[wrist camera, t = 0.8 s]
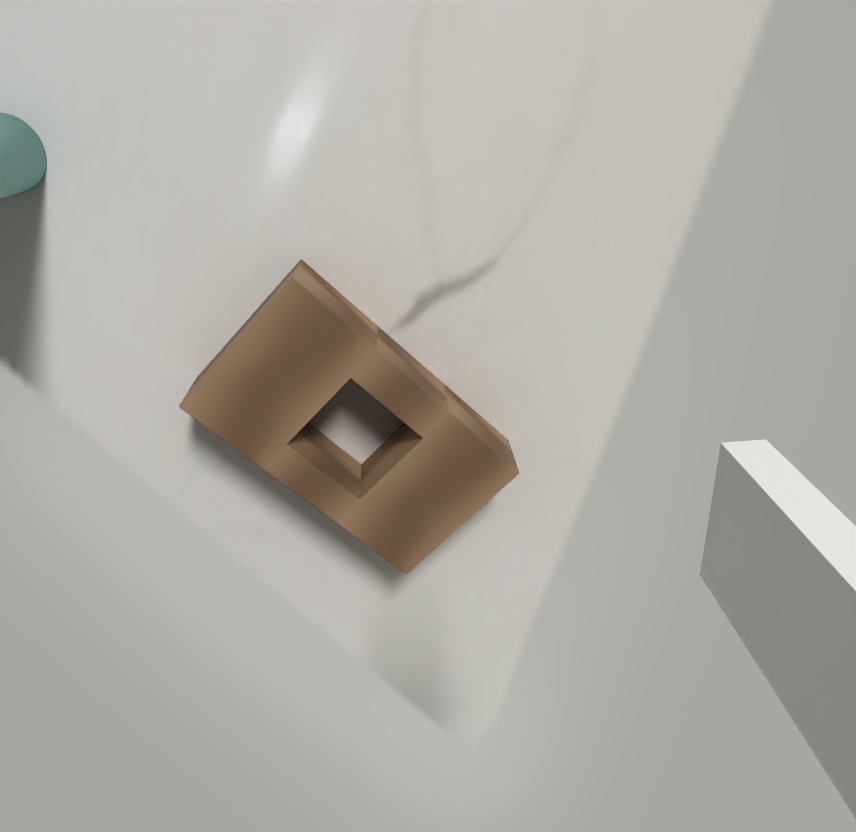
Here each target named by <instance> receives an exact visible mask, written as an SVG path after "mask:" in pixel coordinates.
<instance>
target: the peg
mask: <svg viewBox="0 0 856 832" xmlns="http://www.w3.org/2000/svg"><path fill="white" fill-rule="evenodd" d="M46 163H47V162H46V153H45V149H44V146H43V144H42V142H41V140H40V138H39V136H38V135H37V134H36V132H35V131H34V130H33V129H32V128H31V127H30V126H29V125H28V124H27V123H25V122H24V121H23V120H21V119H19V118H17V117H15V116H13V115H9V114H5V113H0V199H1V198H5V197H8V196H11V195H14V194H17V193H20V192H23V191H27V190H29V189H31V188H33V187H35V186H36V185H37V184H38V183H39V182H40V181H41V179H42V177H43V176H44V173H45V170H46Z"/></svg>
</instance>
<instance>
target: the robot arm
mask: <svg viewBox="0 0 856 832" xmlns="http://www.w3.org/2000/svg"><path fill="white" fill-rule="evenodd" d="M700 575H701V577H702V579H703V580H704V582H705V583H706V585H707V586H708V588H709V589H710V591H711V592H712V594H713V596H714V597H715V599H716V600H717V602H718V604H719V605H720V607H721V608H722V610H723V611H724V613H725V615H726V616H727V618H728V619H729V621H730V622H731V624H732V626H733V627H734V629H735V630H736V632H737V633H738V635H739V637H740V638H741V640H742V641H743V643H744V644H745V646H746V647H747V649H748V651H749V652H750V654H751V655H752V657H753V658H754V660H755V661H756V663H757V665H758V666H759V668H760V669H761V671H762V673H763V674H764V676H765V677H766V679H767V680H768V682H769V684H770V685H771V687H772V688H773V690H774V691H775V693H776V695H777V696H778V698H779V699H780V701H781V702H782V704H783V706H784V707H785V709H786V710H787V712H788V713H789V715H790V716H791V718H792V720H793V721H794V723H795V724H796V726H797V727H798V729H799V731H800V732H801V734H802V735H803V737H804V738H805V740H806V742H807V743H808V745H809V746H810V748H811V749H812V751H813V753H814V754H815V756H816V757H817V759H818V760H819V762H820V764H821V765H822V767H823V768H824V770H825V771H826V773H827V775H828V776H829V778H830V779H831V781H832V782H833V784H834V786H835V787H836V788H837V790H838V792H839V793H840V795H841V796H842V798H843V800H844V801H845V803H846V804H847V806H848V808H849V809H850V810H851V812H852V814H853V815H854V817H855V818H856V526H855V525H854V524H853V523H852V522H850V520H849V519H847V518H846V517H845V516H844V515H843V514H842V513H841V512H840V511H839V510H838V509H837V508H836V507H835V506H834V505H833V504H832V503H831V502H830V501H829V500H828V499H827V498H826V497H825V496H823V494H822V493H820V491H818V490H817V489H816V488H815V487H814V486H813V485H812V484H811V483H810V482H809V481H808V480H807V479H806V478H805V477H804V476H803V475H802V474H801V473H800V472H799V471H798V470H797V469H796V468H795V467H794V466H793V465H792V464H791V463H790V462H789V461H787V460H786V459H785V458H784V457H783V456H782V455H781V454H780V453H779V452H778V451H777V450H776V449H775V448H774V447H773V446H772V445H771V444H770V443H769V442H768V441H767V440H755V441H740V442H727V443H721V447H720V452H719V458H718V465H717V471H716V478H715V484H714V490H713V497H712V502H711V509H710V515H709V521H708V528H707V534H706V540H705V547H704V553H703V559H702V565H701V572H700Z"/></svg>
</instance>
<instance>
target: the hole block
mask: <svg viewBox="0 0 856 832" xmlns="http://www.w3.org/2000/svg"><path fill="white" fill-rule="evenodd" d="M350 378H351V379H352V380H354V381H355V382H356V383H357V384H358V385H360V386H361V387H362V388H363V389H364V390H366V391H367V392H368V393H369V394H371V395H372V396H373V397H374V398H375V399H377V400H378V401H379V402H380V403H381V404H383V405H384V406H385V407H386V408H387V409H389V410H390V411H391V412H392V413H393V414H395V415H396V416H397V417H398V418H399V419H401V420H402V421H403V422H404V423H403V424H402V425H401V426H400V427H399V428H398V429H397V430H396V431H395V432H394V433H393V434H392V435H391V436H390V437H389V438H388V439H387V440H386V441H385V442H384V443H383V444H382V445H381V446H380V447H379V448H378V449H377V450H376V451H375V452H374V453H373V454H372V455H371V456H370V457H369V458H368V459H367V460H366V461H365V462H364V463H363V464H362V465H361V464H360V463H359V462H357V461H356V460H355V459H354V458H352V457H351V456H350V455H349V454H347V453H346V452H345V451H343V450H342V449H341V448H340V447H338V446H337V445H336V444H334V443H333V442H332V441H331V440H329V439H328V438H327V437H325V436H324V435H323V434H322V433H320V432H319V431H318V430H317V429H315V428H314V427H313V426H311V425H310V424H309V423H308V422H309V421H310V419H311V418H312V417H313V416H314V415H315V414H316V413H317V412H318V411H319V410H320V409H321V408H322V407H323V406H324V405H325V404H326V403H327V402H328V401H329V400H330V399H331V398H332V397H333V396H334V395H335V394H336V393H337V392H338V391H339V390H340V388H341V387H342V386H343V385H344V384H345V383H346V382H347V381H348V380H349V379H350ZM179 408H181V409H182V410H184V411H185V412H186V413H188V414H189V415H190V416H192V417H193V418H194V419H196V420H197V421H199V422H200V423H201V424H203V425H204V426H205V427H207V428H208V429H209V430H211V431H212V432H213V433H215V434H216V435H218V436H219V437H220V438H222V439H223V440H224V441H226V442H227V443H228V444H230V445H231V446H233V447H234V448H235V449H237V450H238V451H239V452H241V453H242V454H243V455H245V456H246V457H248V458H249V459H250V460H252V461H253V462H254V463H256V464H257V465H258V466H260V467H261V468H262V469H264V470H265V471H267V472H268V473H269V474H271V475H272V476H273V477H275V478H276V479H277V480H279V481H280V482H282V483H283V484H284V485H286V486H287V487H288V488H290V489H291V490H292V491H294V492H295V493H296V494H298V495H299V496H301V497H302V498H303V499H305V500H306V501H307V502H309V503H310V504H311V505H313V506H314V507H316V508H317V509H318V510H320V511H321V512H322V513H324V514H325V515H326V516H328V517H329V518H331V519H332V520H333V521H335V522H336V523H337V524H339V525H340V526H341V527H343V528H344V529H345V530H347V531H348V532H350V533H351V534H352V535H354V536H355V537H356V538H358V539H359V540H360V541H362V542H363V543H365V544H366V545H367V546H369V547H370V548H371V549H373V550H374V551H375V552H377V553H378V554H379V555H381V556H382V557H384V558H385V559H386V560H388V561H389V562H390V563H392V564H393V565H394V566H396V567H397V568H399V569H400V570H401V571H403V572H404V573H405V574H407V573H408V572H409V571H411V570H412V569H413V568H414V567H415V566H416V565H417V564H418V563H419V562H421V561H422V560H423V559H424V558H425V557H426V556H427V555H428V554H430V553H431V552H432V551H433V550H434V549H435V548H436V547H437V546H439V545H440V544H441V543H442V542H443V541H444V540H445V539H446V538H447V537H449V536H450V535H451V534H452V533H453V532H454V531H455V530H456V529H458V528H459V527H460V526H461V525H462V524H463V523H464V522H465V521H467V520H468V519H469V518H470V517H471V516H472V515H473V514H474V513H475V512H477V511H478V510H479V509H480V508H481V507H482V506H483V505H484V504H486V503H487V502H488V501H489V500H490V499H491V498H492V497H493V496H494V495H496V494H497V493H498V492H499V491H500V490H501V489H502V488H503V487H505V486H506V485H507V484H508V483H509V482H510V481H511V480H512V479H514V478H515V477H516V476H517V475H518V474H519V471H518V468H517V465H516V462H515V459H514V456H513V453H512V450H511V447H510V444H509V441H508V440H507V439H506V438H505V437H504V436H503V435H502V434H500V433H499V432H498V431H497V430H496V429H495V428H494V427H492V426H491V425H490V424H489V423H488V422H487V421H486V420H484V419H483V418H482V417H481V416H480V415H479V414H477V413H476V412H475V411H474V410H473V409H472V408H471V407H469V406H468V405H467V404H466V403H465V402H464V401H463V400H461V399H460V398H459V397H458V396H457V395H456V394H455V393H453V392H452V391H451V390H450V389H449V388H448V387H447V386H445V385H444V384H443V383H442V382H441V381H440V380H439V379H437V378H436V377H435V376H434V375H433V374H432V373H431V372H429V371H428V370H427V369H426V368H425V367H424V366H423V365H421V364H420V363H419V362H418V361H417V360H416V359H415V358H413V357H412V356H411V355H410V354H409V353H408V352H407V351H405V350H404V349H403V348H402V347H401V346H400V345H399V344H397V343H396V342H395V341H394V340H393V339H392V338H391V337H389V336H388V335H387V334H386V333H385V332H384V331H383V330H381V329H380V328H379V327H378V326H377V325H376V324H375V323H373V322H372V321H371V320H370V319H369V318H368V317H367V316H365V315H364V314H363V313H362V312H361V311H360V310H359V309H357V308H356V307H355V306H354V305H353V304H352V303H351V302H349V301H348V300H347V299H346V298H345V297H344V296H343V295H341V294H340V293H339V292H338V291H337V290H336V289H335V288H333V287H332V286H331V285H330V284H329V283H328V282H327V281H325V280H324V279H323V278H322V277H321V276H320V275H319V274H317V273H316V272H315V271H314V270H313V269H312V268H311V267H309V266H308V265H307V264H306V263H305V262H304V261H303V260H300V261H299V262H298V264H297V265H296V266H295V267H294V268H293V269H292V270H291V272H290V273H289V274H288V275H287V276H286V277H285V278H284V279H283V281H282V282H281V283H280V284H279V285H278V286H277V287H276V289H275V290H274V291H273V292H272V293H271V294H270V295H269V296H268V298H267V299H266V300H265V301H264V302H263V303H262V304H261V306H260V307H259V308H258V309H257V310H256V311H255V312H254V313H253V315H252V316H251V317H250V318H249V319H248V320H247V321H246V323H245V324H244V325H243V326H242V327H241V328H240V329H239V330H238V332H237V333H236V334H235V335H234V336H233V337H232V338H231V340H230V341H229V342H228V343H227V344H226V345H225V346H224V347H223V349H222V350H221V351H220V352H219V353H218V354H217V355H216V357H215V358H214V359H213V360H212V361H211V362H210V363H209V364H208V366H207V367H206V368H205V369H204V370H203V371H202V372H201V374H200V375H199V376H198V377H197V378H196V380H195V381H194V383H193V385H192V386H191V388H190V390H189V391H188V393H187V394H186V396H185V398H184V399H183V401H182V402H181V404H180V406H179Z"/></svg>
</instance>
